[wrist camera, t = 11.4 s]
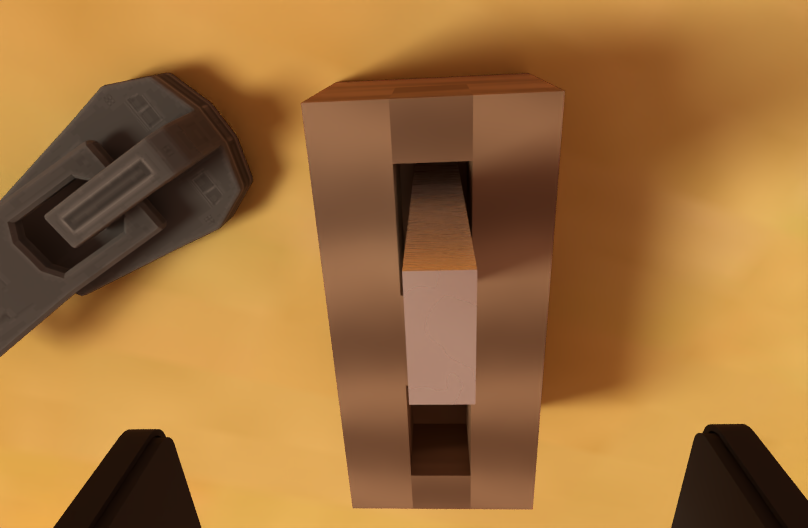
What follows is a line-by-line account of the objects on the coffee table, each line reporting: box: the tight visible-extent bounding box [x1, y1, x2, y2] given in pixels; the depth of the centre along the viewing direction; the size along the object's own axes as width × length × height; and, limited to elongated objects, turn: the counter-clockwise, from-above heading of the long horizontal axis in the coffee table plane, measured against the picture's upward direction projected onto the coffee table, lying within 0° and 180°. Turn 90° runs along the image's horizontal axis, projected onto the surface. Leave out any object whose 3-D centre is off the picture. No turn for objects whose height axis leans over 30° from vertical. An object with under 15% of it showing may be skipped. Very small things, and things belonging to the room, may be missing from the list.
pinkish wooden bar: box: [402, 162, 477, 405], centre depth 20 cm, size 4×2×12 cm, turn 3°
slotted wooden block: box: [301, 73, 565, 509], centre depth 28 cm, size 22×10×8 cm, turn 3°
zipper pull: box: [0, 73, 253, 357], centre depth 29 cm, size 9×7×25 cm
